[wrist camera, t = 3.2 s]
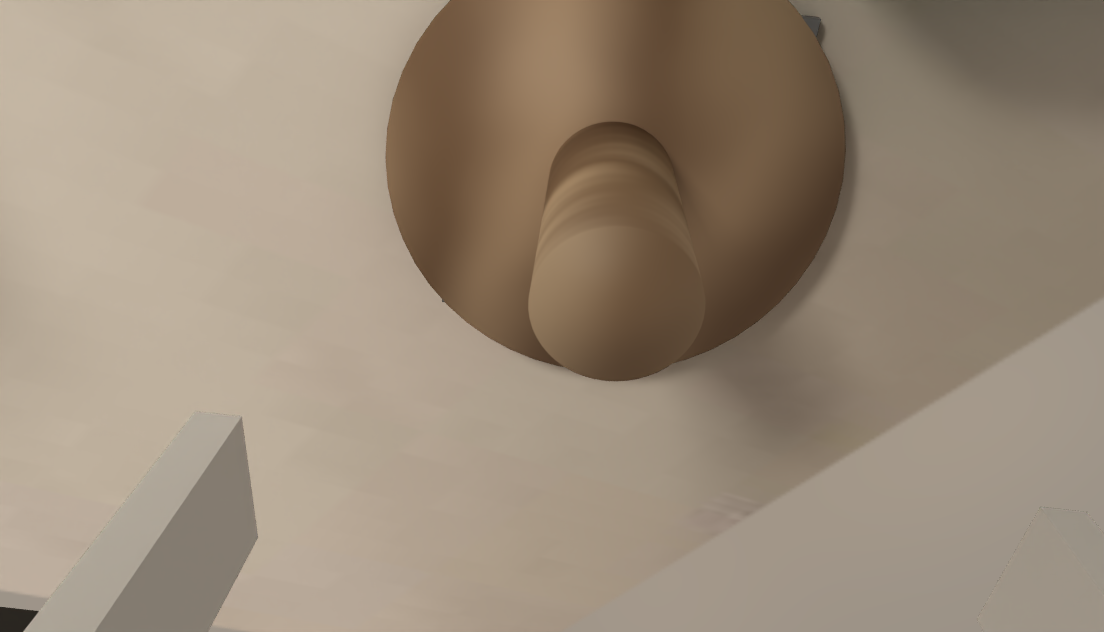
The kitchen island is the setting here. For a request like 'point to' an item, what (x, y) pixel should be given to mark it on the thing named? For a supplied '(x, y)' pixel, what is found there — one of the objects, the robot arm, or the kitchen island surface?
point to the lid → (615, 171)
